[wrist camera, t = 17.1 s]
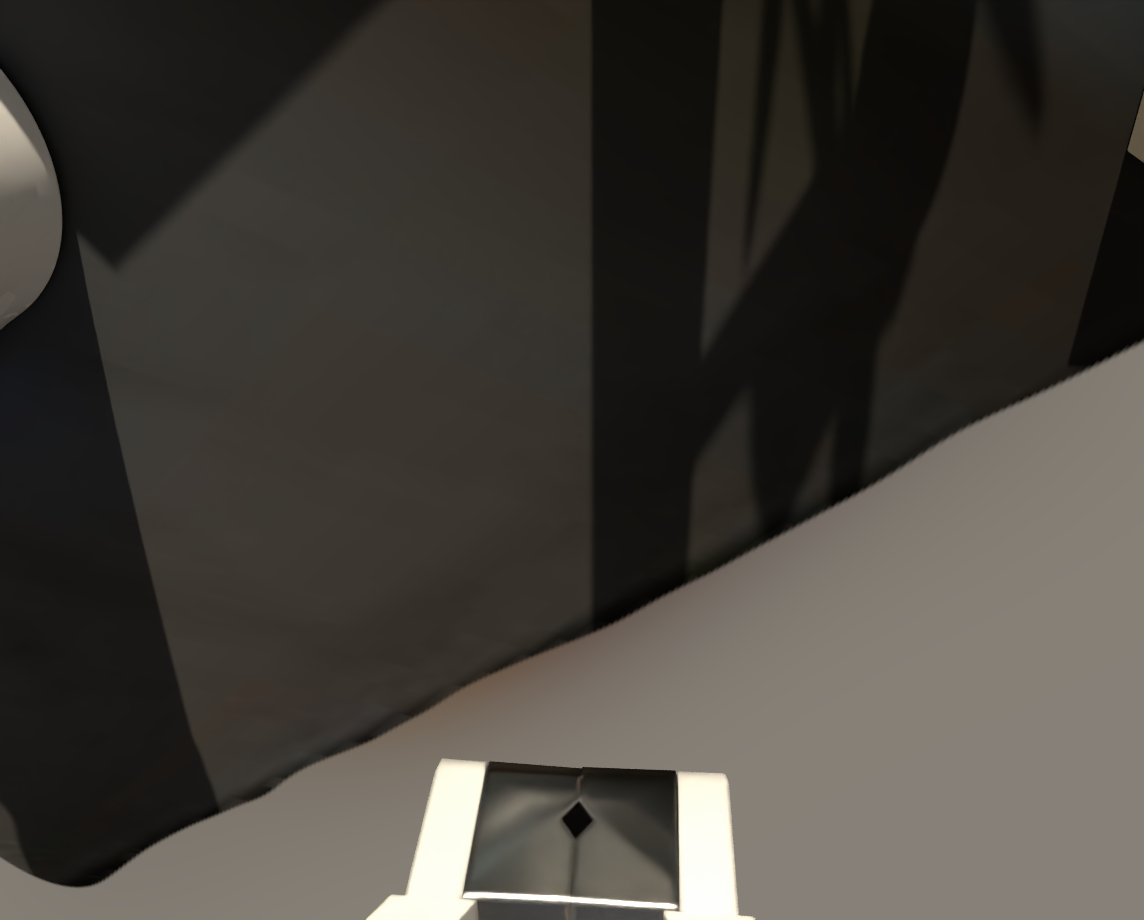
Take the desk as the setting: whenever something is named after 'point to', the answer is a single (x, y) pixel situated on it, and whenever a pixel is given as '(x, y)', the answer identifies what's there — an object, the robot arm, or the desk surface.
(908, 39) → the desk surface
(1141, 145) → the block
